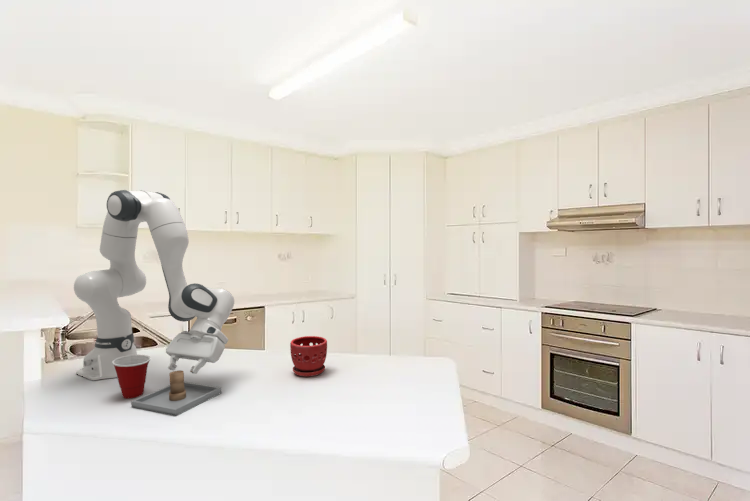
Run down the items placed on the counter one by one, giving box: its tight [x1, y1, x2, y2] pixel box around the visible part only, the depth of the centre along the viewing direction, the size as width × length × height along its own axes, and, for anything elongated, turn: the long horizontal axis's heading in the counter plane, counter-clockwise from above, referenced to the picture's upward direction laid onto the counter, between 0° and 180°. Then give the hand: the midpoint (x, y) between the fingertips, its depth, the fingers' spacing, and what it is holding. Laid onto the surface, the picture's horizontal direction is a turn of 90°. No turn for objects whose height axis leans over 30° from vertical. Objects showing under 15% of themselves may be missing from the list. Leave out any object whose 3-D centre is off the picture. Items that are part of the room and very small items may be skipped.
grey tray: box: [130, 381, 222, 417], centre depth 134 cm, size 18×18×2 cm
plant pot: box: [289, 335, 328, 378], centre depth 156 cm, size 13×13×12 cm
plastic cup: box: [112, 354, 152, 399], centre depth 139 cm, size 11×11×12 cm
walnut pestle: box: [168, 370, 186, 401], centre depth 134 cm, size 5×5×8 cm
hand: (181, 371), depth 136 cm, fingers open, 8 cm apart
